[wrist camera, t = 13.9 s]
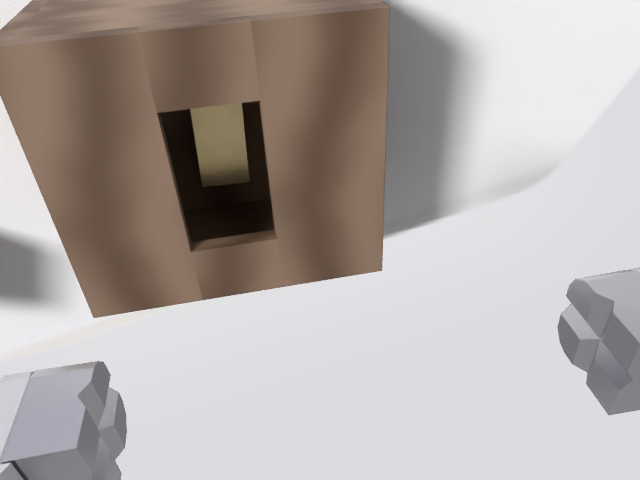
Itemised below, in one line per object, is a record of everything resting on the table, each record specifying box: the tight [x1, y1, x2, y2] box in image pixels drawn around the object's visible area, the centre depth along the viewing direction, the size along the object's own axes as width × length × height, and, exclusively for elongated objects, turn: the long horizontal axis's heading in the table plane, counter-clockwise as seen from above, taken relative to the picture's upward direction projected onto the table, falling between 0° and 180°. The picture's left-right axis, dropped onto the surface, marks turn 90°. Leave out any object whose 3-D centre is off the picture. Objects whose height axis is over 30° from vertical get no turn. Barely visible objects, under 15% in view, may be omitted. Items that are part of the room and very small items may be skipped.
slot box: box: [0, 0, 389, 318], centre depth 32 cm, size 18×16×10 cm
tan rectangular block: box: [190, 103, 250, 187], centre depth 34 cm, size 3×6×4 cm, turn 1°
